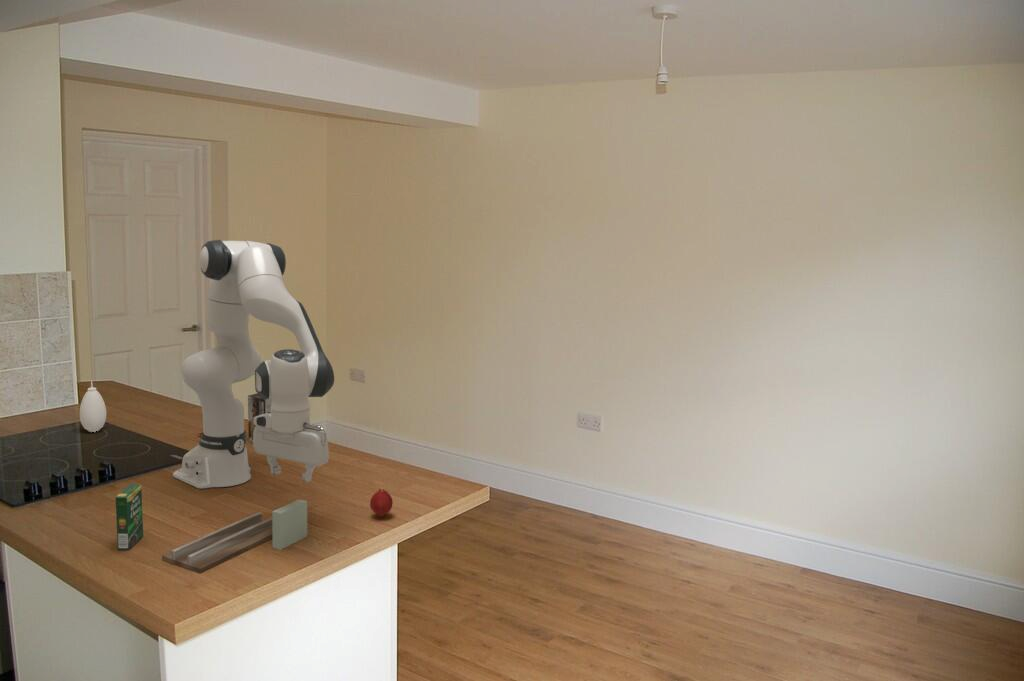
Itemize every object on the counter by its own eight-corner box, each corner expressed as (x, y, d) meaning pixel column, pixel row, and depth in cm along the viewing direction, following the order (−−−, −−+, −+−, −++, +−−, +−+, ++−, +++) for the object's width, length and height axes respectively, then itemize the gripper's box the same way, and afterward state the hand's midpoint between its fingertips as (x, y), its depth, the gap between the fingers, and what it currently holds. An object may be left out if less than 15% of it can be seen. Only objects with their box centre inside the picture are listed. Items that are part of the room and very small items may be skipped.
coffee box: (281, 442, 257) (280, 395, 254) (265, 446, 251) (265, 399, 249) (263, 437, 261) (262, 391, 259) (247, 441, 256) (247, 394, 253)
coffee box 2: (129, 551, 172) (127, 496, 170) (116, 551, 172) (114, 496, 170) (144, 536, 180) (142, 483, 178) (132, 536, 180) (130, 483, 178)
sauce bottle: (98, 435, 255) (96, 383, 252) (75, 434, 255) (73, 382, 252) (111, 429, 262) (109, 378, 259) (89, 428, 262) (86, 377, 259)
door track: (162, 560, 169) (161, 547, 168) (249, 520, 192) (249, 509, 191) (200, 573, 163) (200, 560, 163) (286, 531, 186) (286, 519, 186)
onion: (371, 512, 201) (371, 483, 199) (393, 512, 201) (393, 483, 200) (368, 520, 195) (369, 491, 194) (391, 521, 196) (392, 491, 194)
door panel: (272, 547, 177) (272, 511, 176) (299, 534, 185) (299, 499, 184) (280, 550, 176) (280, 513, 175) (307, 536, 184) (307, 501, 183)
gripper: (334, 423, 174) (335, 481, 176) (267, 411, 183) (268, 466, 185) (316, 430, 169) (316, 489, 171) (248, 417, 177) (249, 473, 180)
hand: (291, 477), depth 178 cm, fingers open, 8 cm apart
